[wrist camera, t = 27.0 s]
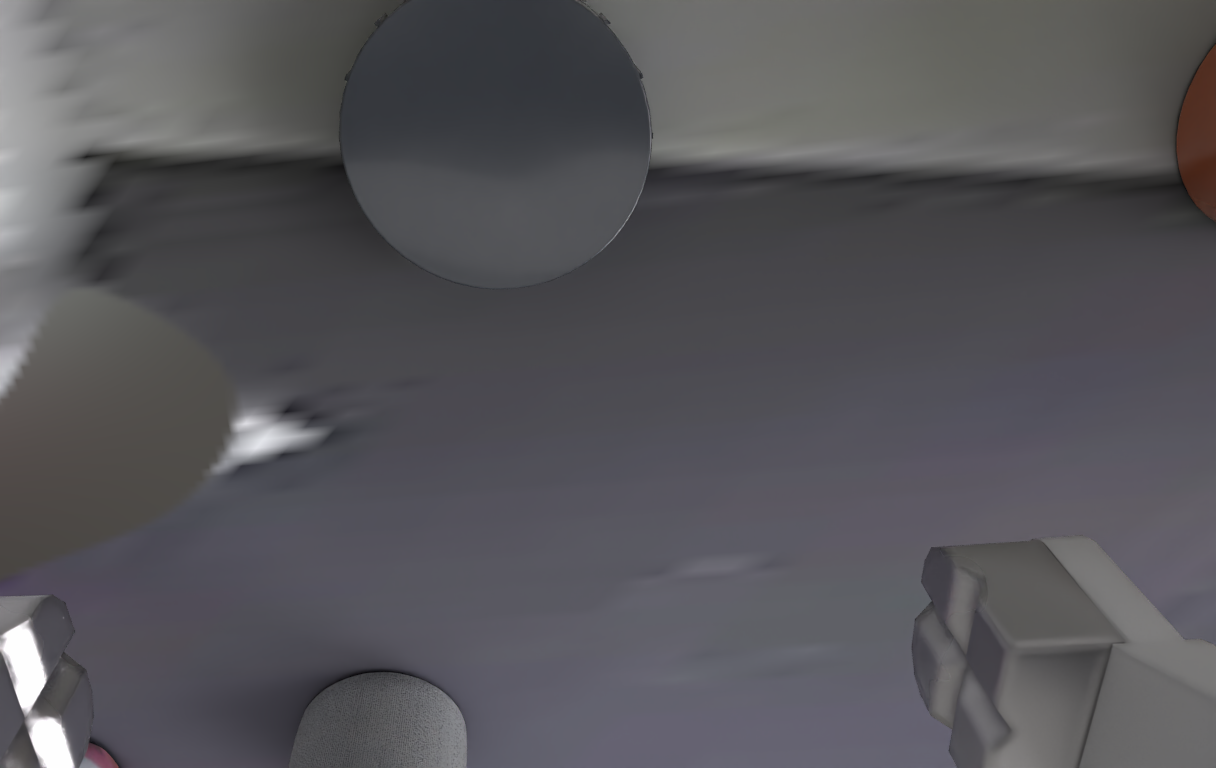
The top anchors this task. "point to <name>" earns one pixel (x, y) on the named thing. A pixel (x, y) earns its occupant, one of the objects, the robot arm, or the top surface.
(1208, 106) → the jar
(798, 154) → the top surface
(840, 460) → the top surface
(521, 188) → the jar lid
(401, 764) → the planter
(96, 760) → the eraser
